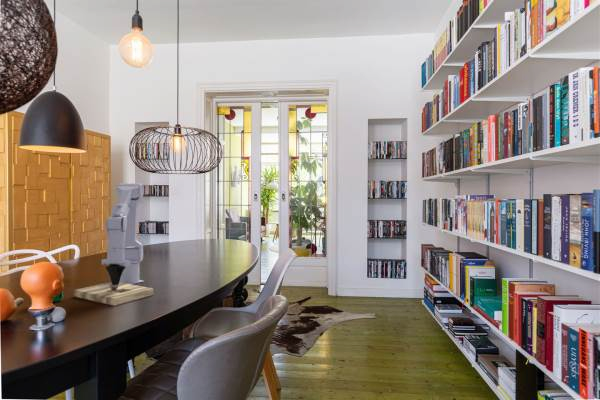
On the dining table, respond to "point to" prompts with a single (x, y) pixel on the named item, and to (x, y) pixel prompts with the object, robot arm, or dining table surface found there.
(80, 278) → the dining table surface
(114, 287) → the steel ball
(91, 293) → the birch board
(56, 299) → the soda can
